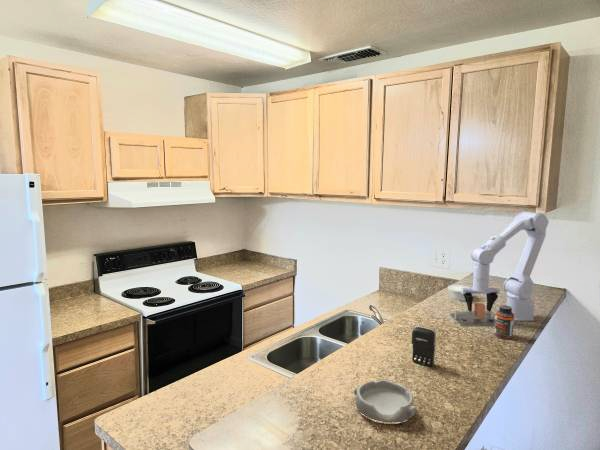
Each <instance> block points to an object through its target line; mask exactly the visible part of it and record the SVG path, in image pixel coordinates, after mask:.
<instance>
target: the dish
mask: <svg viewBox="0 0 600 450" xmlns="http://www.w3.org/2000/svg"><path fill="white" fill-rule="evenodd" d="M353 393H354V395H355V404H356V408H357V410H358V409H359V411H360V412H361V413H362V414H364V415H365V416H367V417H369V418H371V419H374V420H378V421H383V422H403V421H405V420H408V419H409V418H410V417H411V418H412V417H414V416H415V414H416V412H417V406H416V405H414V397H413V394H412V392H411V391H410V390H409V389H408V388H407V387H405V386H404V385H401V384H399V383H396V382H394V381H390V380H386V379H380V380H378V381H373V380H369V381H366V382H364V383H362V384H361V385H360V386H358V385H357V386H356V387H355V388H354V392H353ZM359 411H358V412H359ZM360 412H359V413H360ZM361 413H360V414H361ZM411 418H410V419H411ZM410 419H409V420H410ZM409 420H408V421H409Z"/></svg>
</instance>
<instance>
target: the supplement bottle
mask: <svg viewBox="0 0 600 450" xmlns="http://www.w3.org/2000/svg"><path fill="white" fill-rule="evenodd" d="M511 311H512V307H510V306H506V304H502V305H499V310H497V311H496V313H495V319H496V320H495V326H494V335H495V336H496V337H497V338H499V339H503V340H511V339H512V338H513V335H514V325H515V321H514V314H513V313H512V312H511Z"/></svg>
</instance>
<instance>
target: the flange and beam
mask: <svg viewBox="0 0 600 450" xmlns="http://www.w3.org/2000/svg"><path fill="white" fill-rule="evenodd" d="M449 316H450V317H451V318H452V319H453V320H454V321H456V323H457V324H458V325H459V326H462V327H495V320H496V313H494V311H492V310H491V312H489V311H488V310H485V318H482V320H480V319H479V318H476V311H473V310H472V312H470V311H469V310H455V311H454V312H453V313H451V312H450V313H449Z"/></svg>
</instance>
